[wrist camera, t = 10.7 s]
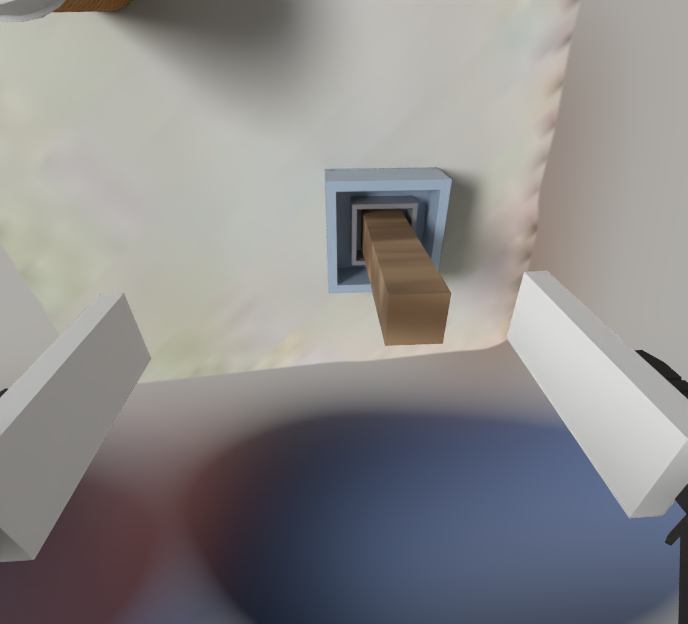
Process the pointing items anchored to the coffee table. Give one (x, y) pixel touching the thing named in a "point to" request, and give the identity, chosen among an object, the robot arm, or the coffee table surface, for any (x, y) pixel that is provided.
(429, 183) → the light blue square bin
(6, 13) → the disposable coffee cup
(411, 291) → the long wooden beam
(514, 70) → the coffee table surface
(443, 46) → the coffee table surface
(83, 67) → the coffee table surface
